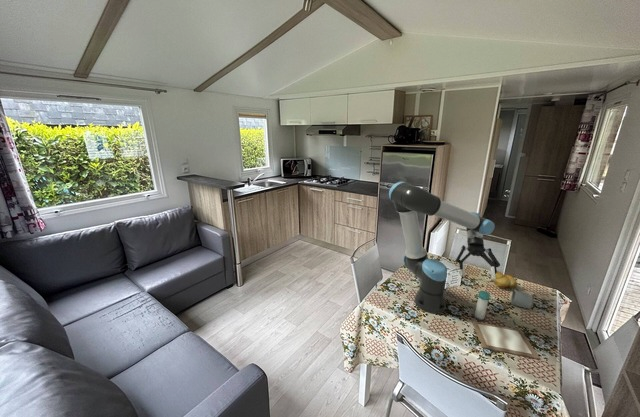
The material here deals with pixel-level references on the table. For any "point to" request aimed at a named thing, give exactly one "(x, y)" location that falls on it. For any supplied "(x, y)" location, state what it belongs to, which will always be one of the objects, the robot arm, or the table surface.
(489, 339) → the writing pad
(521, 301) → the ceramic mug
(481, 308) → the marker
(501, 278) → the bread roll
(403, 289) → the table surface
